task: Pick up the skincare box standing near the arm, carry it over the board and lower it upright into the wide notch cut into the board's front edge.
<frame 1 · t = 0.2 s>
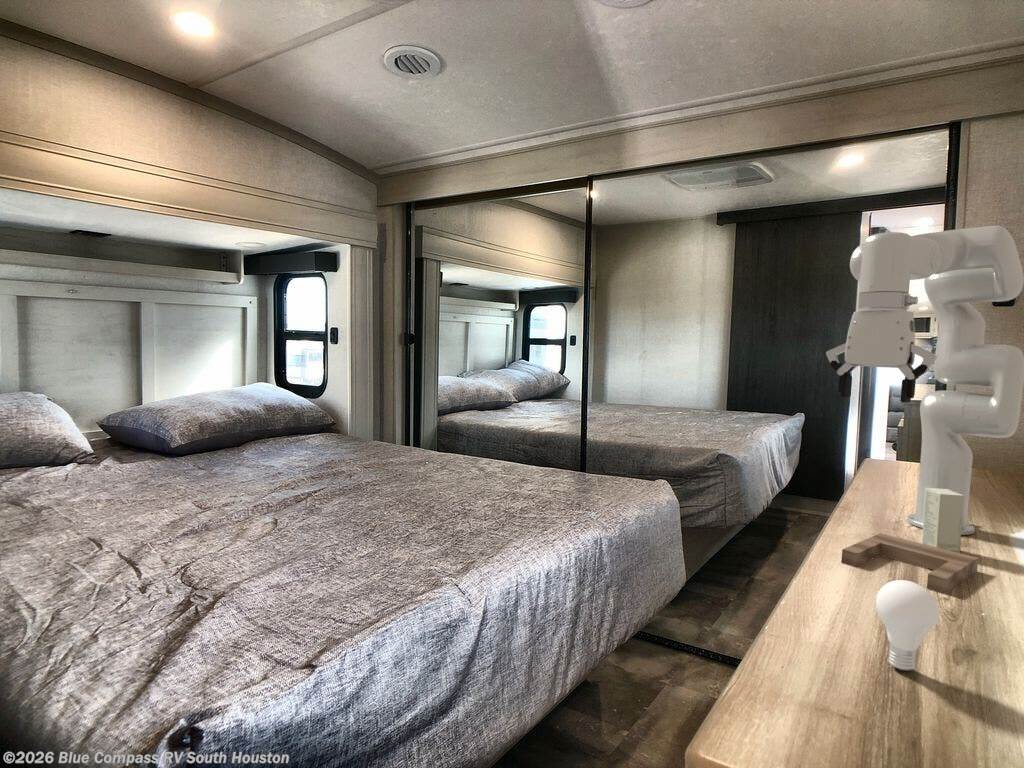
hand: (874, 399, 104), 31 cm above the dresser top, tool pointing down, fingers open, 9 cm apart
skincare box: (939, 551, 117), on the dresser top
notched board: (908, 566, 106), on the dresser top
lightbulb: (900, 670, 71), on the dresser top
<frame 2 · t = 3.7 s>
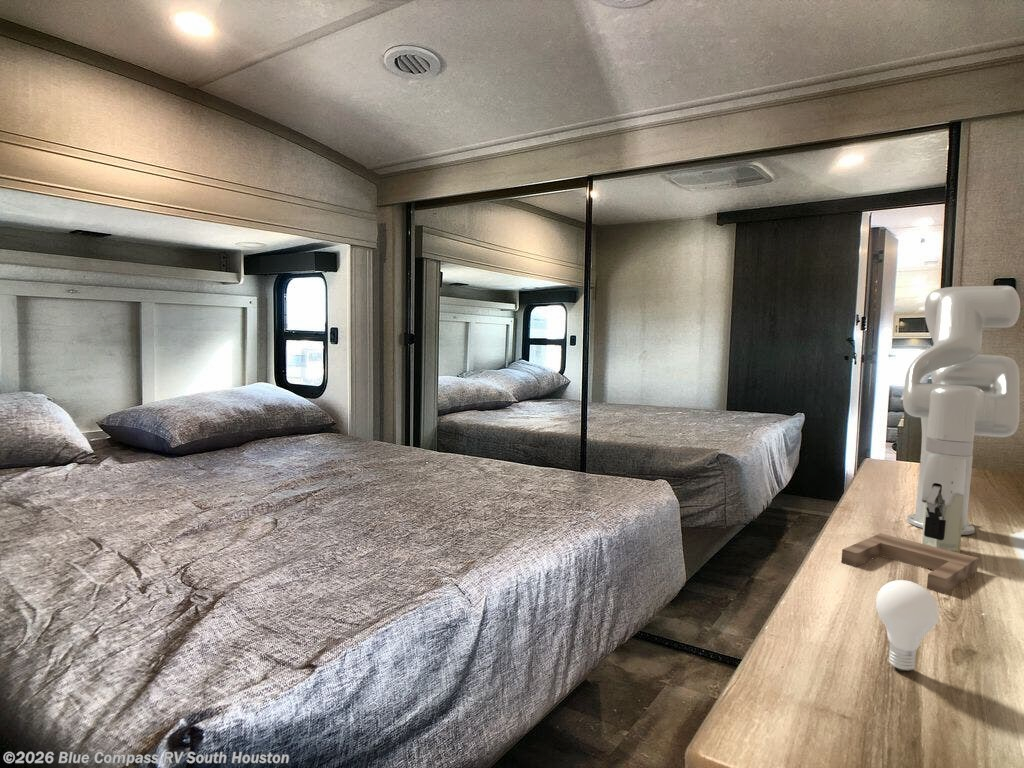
hand: (940, 534, 116), 3 cm above the dresser top, tool pointing down, fingers closed on skincare box, 7 cm apart
skincare box: (939, 550, 117), on the dresser top, touching gripper
everything else where it was.
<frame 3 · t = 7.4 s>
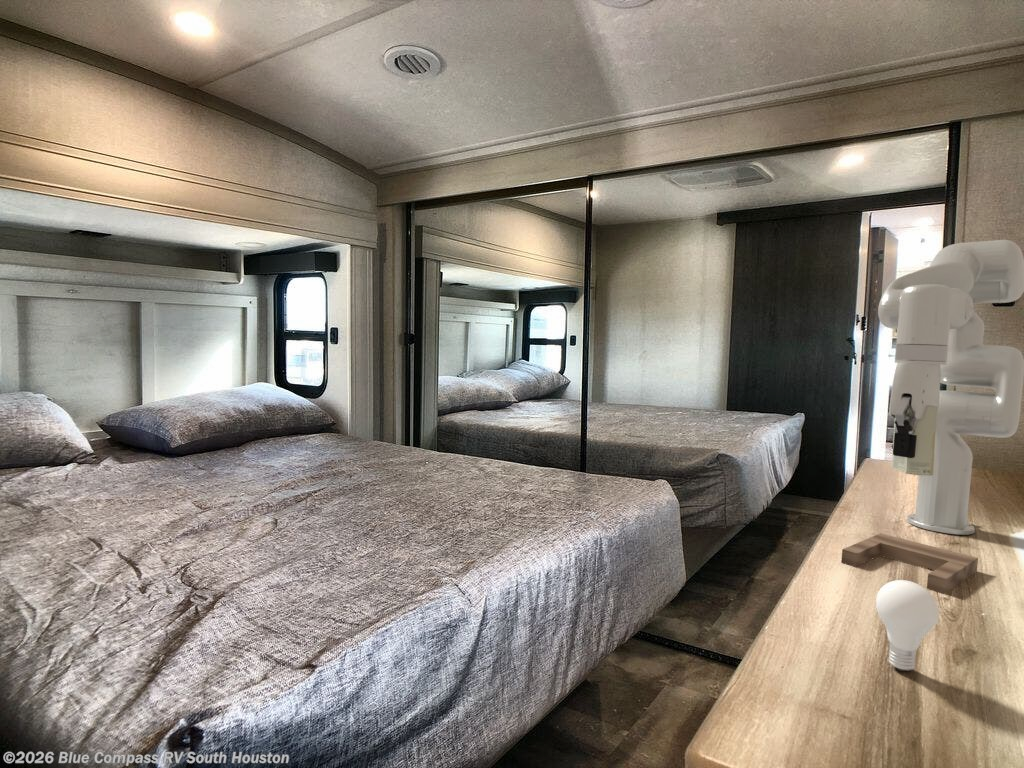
hand: (912, 454, 103), 21 cm above the dresser top, tool pointing down, fingers closed on skincare box, 7 cm apart
skincare box: (910, 472, 103), point 18 cm above the dresser top, touching gripper
everything else where it was.
when the fingers open (4 cm above the dresser top, at t = 11.1 s): skincare box stays where it is, on the dresser top.
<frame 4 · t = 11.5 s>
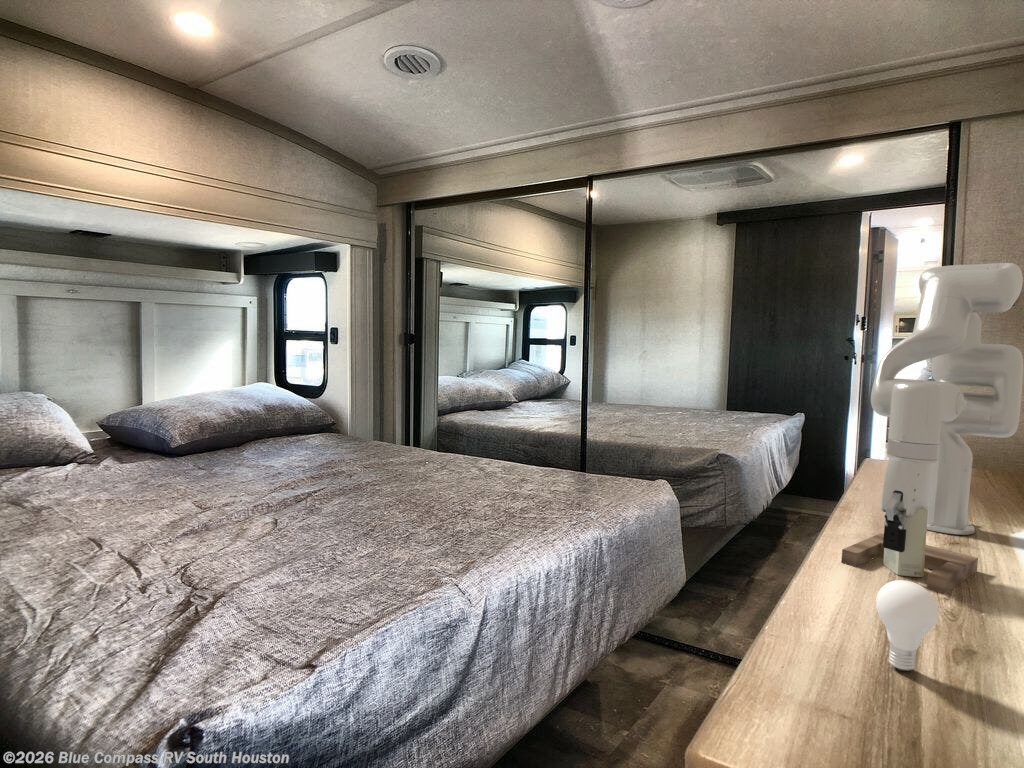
hand: (903, 544, 104), 5 cm above the dresser top, tool pointing down, fingers open, 9 cm apart
skincare box: (901, 571, 104), on the dresser top
everything else where it was.
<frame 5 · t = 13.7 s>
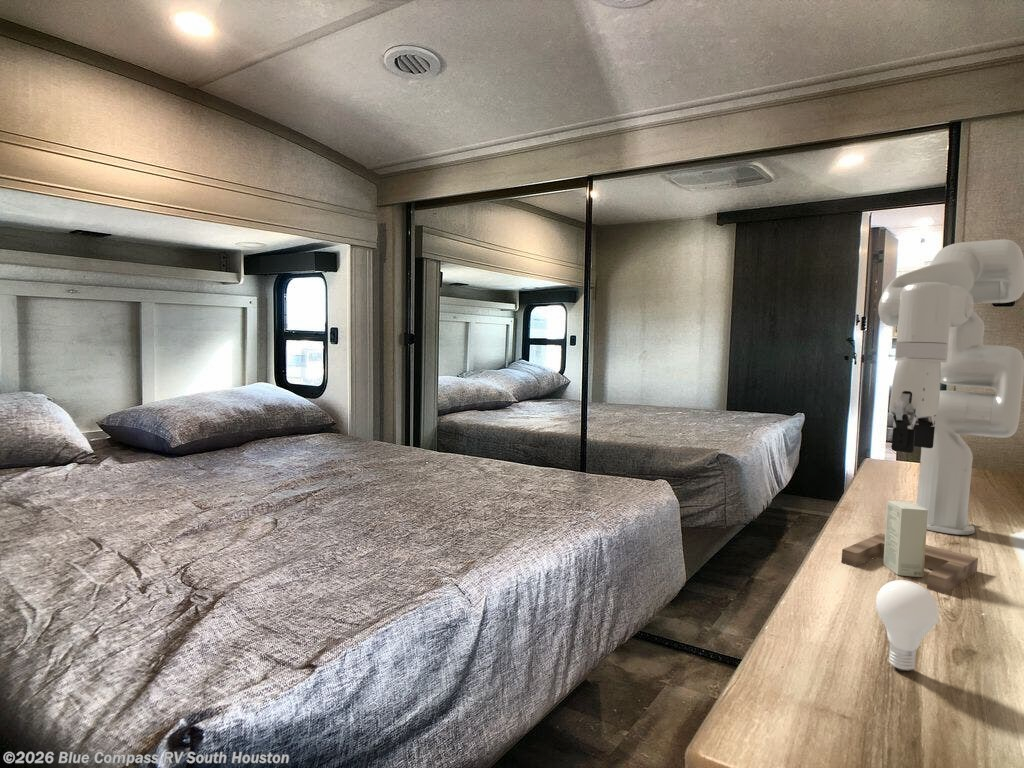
hand: (912, 449, 103), 22 cm above the dresser top, tool pointing down, fingers open, 9 cm apart
nothing on the dresser top moved.
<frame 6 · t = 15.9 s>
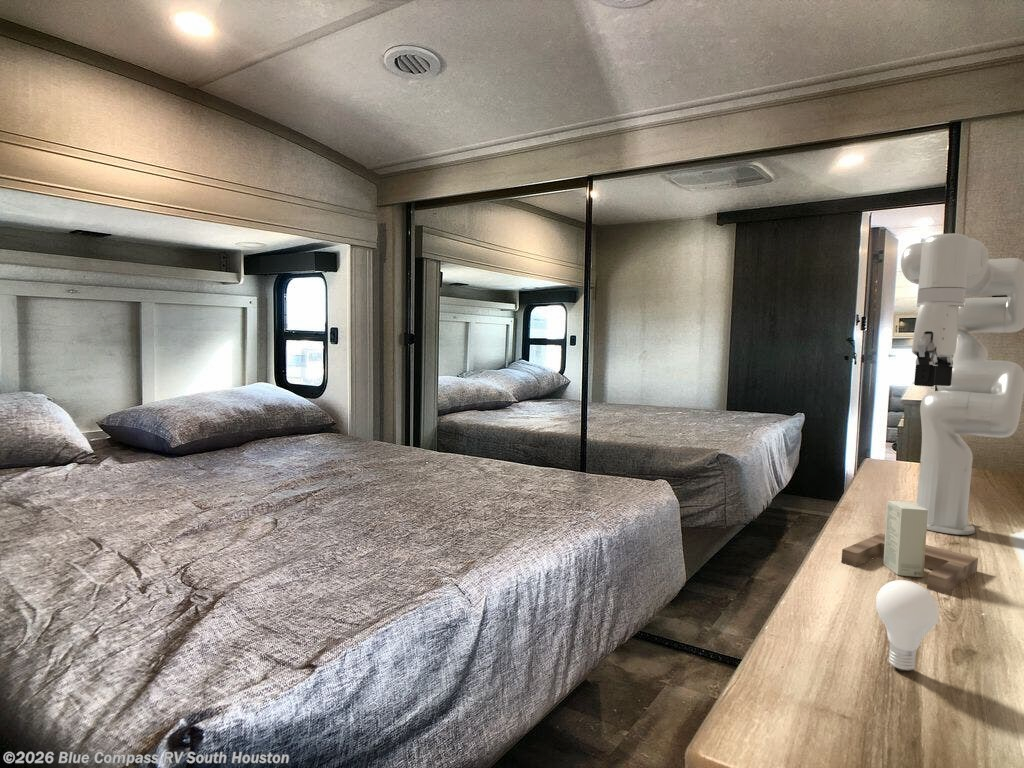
hand: (932, 385, 114), 33 cm above the dresser top, tool pointing down, fingers open, 9 cm apart
nothing on the dresser top moved.
at the end: skincare box 0.2 cm from the target spot on the notched board, point 0.0 cm above the notched board's base; skincare box tilted 0°; the gripper is holding nothing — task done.
